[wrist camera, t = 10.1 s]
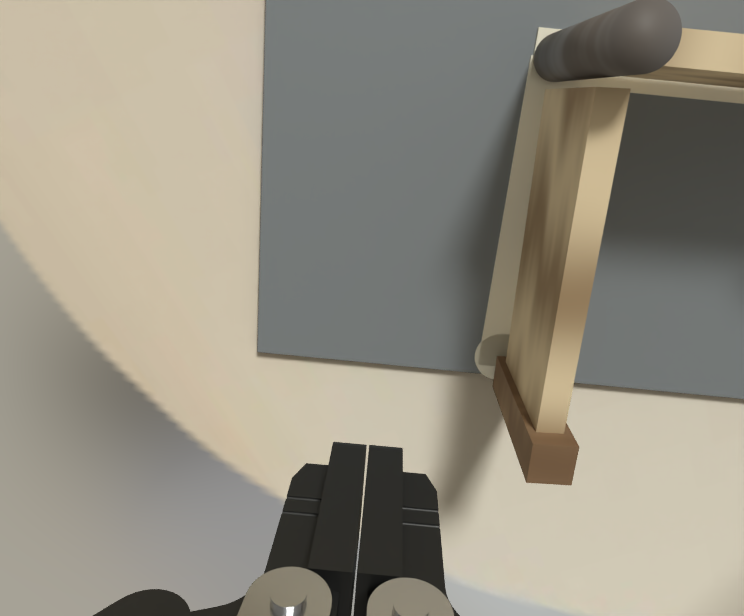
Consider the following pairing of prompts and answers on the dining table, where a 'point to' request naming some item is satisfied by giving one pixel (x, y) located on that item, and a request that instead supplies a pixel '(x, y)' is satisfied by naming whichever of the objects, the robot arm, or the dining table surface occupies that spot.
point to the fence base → (641, 49)
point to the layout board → (487, 194)
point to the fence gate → (558, 274)
